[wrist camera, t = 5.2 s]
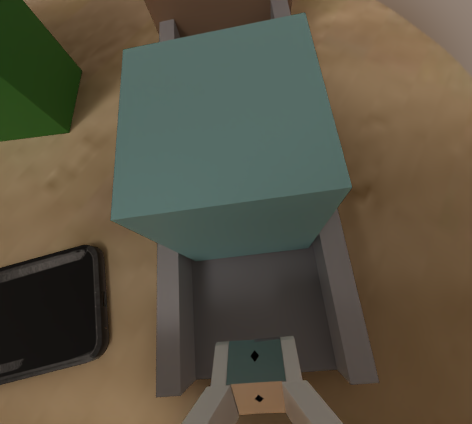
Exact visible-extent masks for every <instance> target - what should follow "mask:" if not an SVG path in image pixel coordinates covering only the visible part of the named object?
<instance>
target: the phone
mask: <svg viewBox="0 0 472 424" xmlns="http://www.w3.org/2000/svg"><path fill="white" fill-rule="evenodd" d="M102 293H103V294H104V307H103V294H102ZM106 328H107V329H106ZM108 343H109V330H108V313H107V296H106V279H105V263H104V255H103V253H102V251H101V250H100V249H99V248H97V247H93V246H90V245H81V246H78V247H74V248H71V249H67V250H63V251H60V252H56V253H53V254H49V255H45V256H42V257H38V258H35V259H31V260H27V261H24V262H20V263H17V264H13V265H9V266H6V267H2V268H0V385H2V384H5V383H9V382H13V381H17V380H21V379H25V378H29V377H33V376H37V375H41V374H45V373H49V372H53V371H57V370H61V369H64V368H68V367H72V366H76V365H80V364H84V363H87V362H90V361H93V360H95V359H98V358H99V357H100V356H101V355H103V353H104V352H105V350H106V349H107V346H108Z"/></svg>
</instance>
